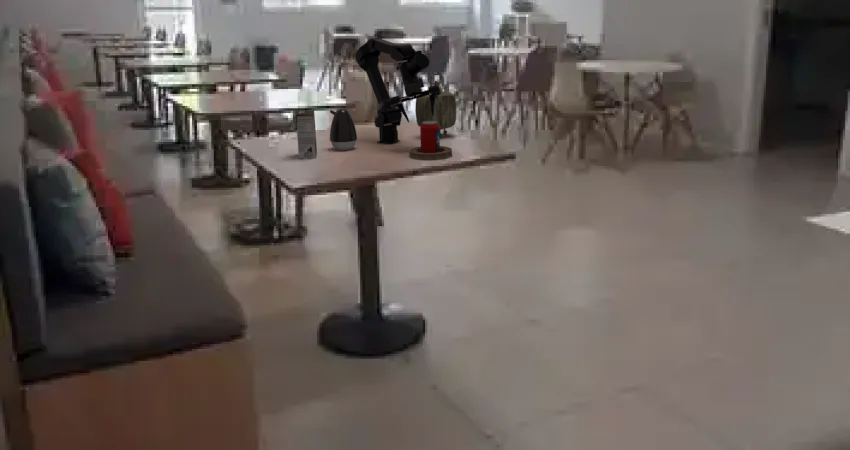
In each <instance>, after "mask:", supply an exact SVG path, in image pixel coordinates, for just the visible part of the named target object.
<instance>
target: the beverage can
mask: <svg viewBox="0 0 850 450" xmlns="http://www.w3.org/2000/svg"><path fill="white" fill-rule="evenodd" d="M419 127H420V126H419ZM419 130H420V136H419V137H420V147H421V153H438V152H440V146H441V145H440V144H441V142H440V139H441V138H440V136H439V125H438V123H437V121H424V122H422V125H421V127H420V129H419Z"/></svg>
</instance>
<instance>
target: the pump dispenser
mask: <svg viewBox="0 0 850 450" xmlns="http://www.w3.org/2000/svg"><path fill="white" fill-rule="evenodd" d="M329 113H330V114H331V115H332V117H333V118H332V120H331V123H330V129H329V130H330V131H329V142H330V143H331V145H332V147H333V148H334V149H335V150H337V151H348V150H351V149H354V147H355V145H356V143H357V140H358V134H357V130H356V129H357V128H356V125H355V122H354V120H353V119H354V118H353V117H352V115H351V113H350V112H349V110H348V109H345V108H339V109H337V110H336V111H335V110H332V109H330V110H329Z"/></svg>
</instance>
